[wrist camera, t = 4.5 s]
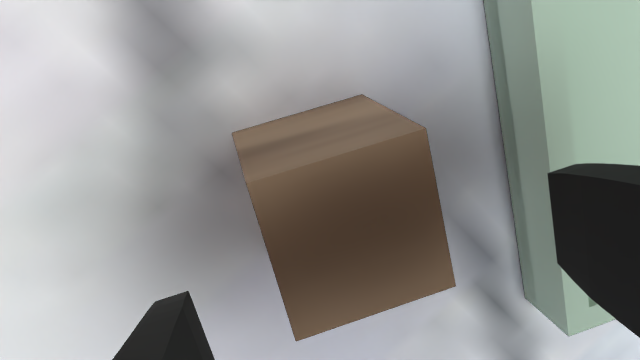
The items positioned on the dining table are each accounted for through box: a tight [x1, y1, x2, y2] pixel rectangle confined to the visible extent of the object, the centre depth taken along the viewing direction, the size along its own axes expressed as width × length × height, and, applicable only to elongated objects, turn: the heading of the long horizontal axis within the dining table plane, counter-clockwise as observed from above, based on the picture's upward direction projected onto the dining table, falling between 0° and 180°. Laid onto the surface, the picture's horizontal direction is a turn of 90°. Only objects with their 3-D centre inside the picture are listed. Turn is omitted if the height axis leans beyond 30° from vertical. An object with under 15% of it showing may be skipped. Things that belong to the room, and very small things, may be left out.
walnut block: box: [232, 95, 456, 341], centre depth 15 cm, size 4×4×5 cm
